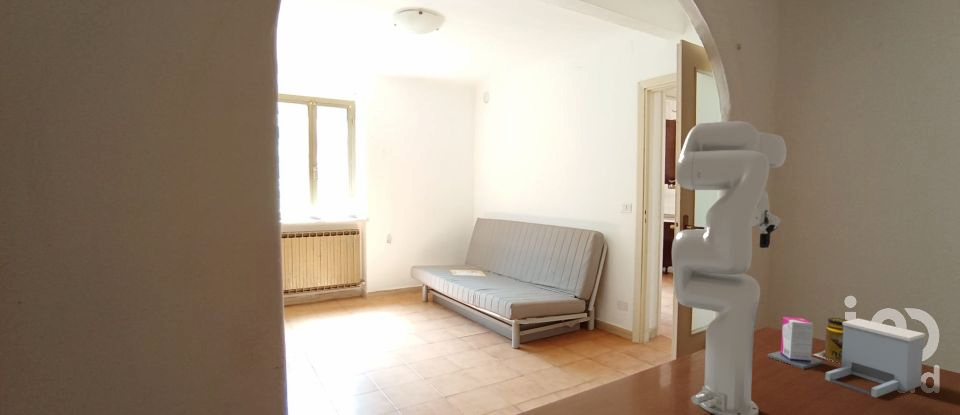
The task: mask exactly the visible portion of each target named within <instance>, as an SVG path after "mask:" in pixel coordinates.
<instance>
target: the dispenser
mask: <svg viewBox="0 0 960 415" xmlns="http://www.w3.org/2000/svg"><path fill="white" fill-rule="evenodd" d="M842 325H844V326H843V346H842V364H840V366H841V367H838V368H835V369H832V370H829V371H826V372H825V379H824V380H825V381H828V382H830V379H834V380H838V379H840V378H844V377H846V376H850V375H853V376H856V377H859V378H864V379H866V380H869V381H873V382H876V383H878V384H879V385H875V386H873V387H871V391H870V392H871V396H870V397H873V398H879V397H882V396H884V395H886V394H889V393H891V392H892V393H893V392H894V391H897V390H900V391H903V392H909V391H910V390H914V389H915V388H918V387H920V386H921V385H922V368H923V367H922V366H923V355H924V354H923V352H924V351H923V350H924V339H925V337H926V333H924V332H920V331H915V330H911V329H906V328H903V327H898V326H895V325H888V324H885V323H881V322H877V321H871V320H867V319H862V318H854V319H850V320H848V321H845V322H842Z"/></svg>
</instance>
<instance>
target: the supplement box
mask: <svg viewBox="0 0 960 415" xmlns="http://www.w3.org/2000/svg"><path fill="white" fill-rule="evenodd" d="M781 326H782V328H781V343H780V344H781V345H780V351H781V354H782V355H783V356H785V357H786V358H787V359H789V360H790V361H802V362H811V357H812V356H813V353H812V351H813V350H812V349H813V337H814V336H813V335H814V334H813V333H814V323H813V322H811V321H809V320H807V319H805V318H803V317H789V316H783V317H782V325H781Z"/></svg>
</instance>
